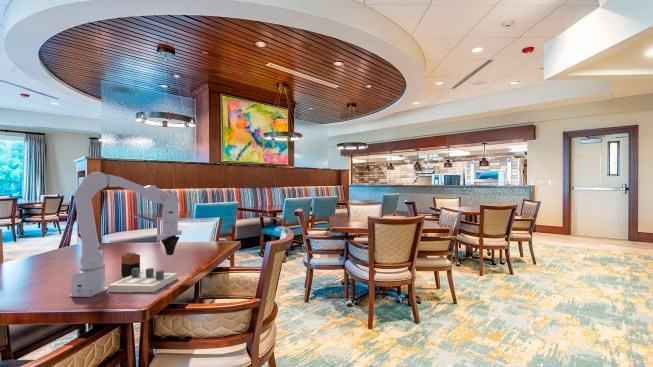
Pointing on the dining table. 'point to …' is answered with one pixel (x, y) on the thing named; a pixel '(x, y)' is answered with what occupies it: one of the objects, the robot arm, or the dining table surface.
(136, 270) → the block
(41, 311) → the dining table surface
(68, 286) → the dining table surface
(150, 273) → the block
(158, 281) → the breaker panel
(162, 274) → the block
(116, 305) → the dining table surface
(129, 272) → the battery
